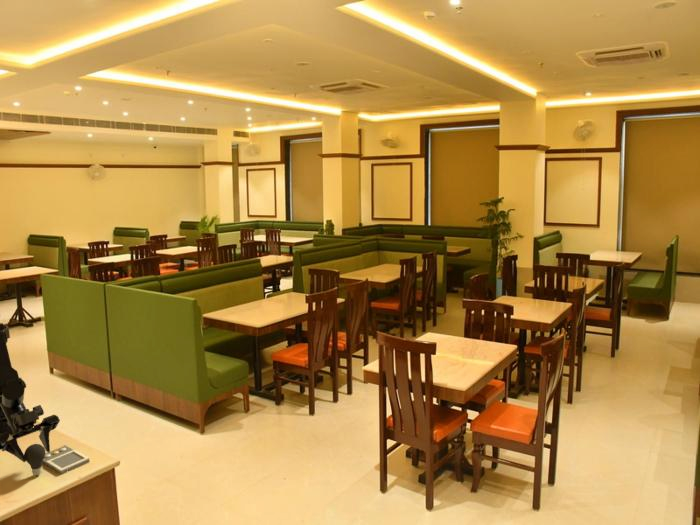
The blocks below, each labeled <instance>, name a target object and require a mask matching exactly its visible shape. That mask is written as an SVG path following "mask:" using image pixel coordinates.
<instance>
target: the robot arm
mask: <svg viewBox="0 0 700 525" xmlns="http://www.w3.org/2000/svg"><path fill="white" fill-rule="evenodd" d="M10 338H11V335H10V327H9V326H8V325H4V323H3V322H0V451H1V452H7V453H9V454H11V455H13V456H15V458H17V459H18V460H20V461H21V462H22V463H27V461H26V458H25V456H24V453H23V451H22V449H21V447H20V445H19V443H18V439H21V438H22V437H25V436H28V435H30V434H33V433H36V432H39V436H38V438H39V440H40V441H41V445H42V446H43V447H44V449H45V452H46V453H49V452H50V450H51V447H50V446H51V445H50V444H51V443H50V433H51V431H54V430H55V429H57V427H58V425H59V423H60V421H61V420H60V418H59V415H56V414H51V415H50V416H46V417H44V418H43V419H42V420H41V422H40V423H38V422H37V420H40V417H41V416H44V415H45V412H44V408H43V407H42V406H41V404H39V405H36V406H34V407H32V410H30V409H29V408H26V406H25V404H24V398H25V389H27V384H26V382H25V381H24V380H23V379H22V377H19V373H18V371H17V370H16V369H15V368H13V367H12V363H11V358H10V354H9V349H8V346H7V343H8V339H10ZM37 423H38V424H37Z"/></svg>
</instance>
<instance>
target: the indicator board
mask: <svg viewBox="0 0 700 525" xmlns="http://www.w3.org/2000/svg"><path fill="white" fill-rule="evenodd" d="M42 462H43V463H42V464H44V463H45V464H44V465H45V466H47V465H48V466H47V467H49V468H50V467H51V469H52V470H53V471H55V472H57V473H58V472H59V473H58V474H60V475H63V474H66V473H67V471H68V472H70V471H72V470H74V469H77V468H79V467H81V466H84V465H85V463H86V464H88V463H90V457H89V456H87V455H85V454H83V453H82V452H80V451H78V450H77V449H72V448H70V447H69V446H67V445H63V446H61V447H58V448H55V449H54V450H51V451H50V452H49V453H48V452H45V457H44V459H43V461H42ZM83 464H84V465H83ZM65 472H66V473H65Z"/></svg>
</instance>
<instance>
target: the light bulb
mask: <svg viewBox="0 0 700 525" xmlns="http://www.w3.org/2000/svg"><path fill="white" fill-rule="evenodd" d="M23 454H24V456H25V458H26V463H27V464H28V465H29V466H30V469H31V472H32V473H31V474H32V475H33V476H35V477H38V476H40V475H41V474H42V472H43V471H42V466H43V463H42V461H43V459H44V457H45V454H46V450H45V448H44V446H43V444H39V443H34V444H33V443H32V444H30V445H29V446H28V447H27V448H26V449H25V451H24V453H23Z"/></svg>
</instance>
